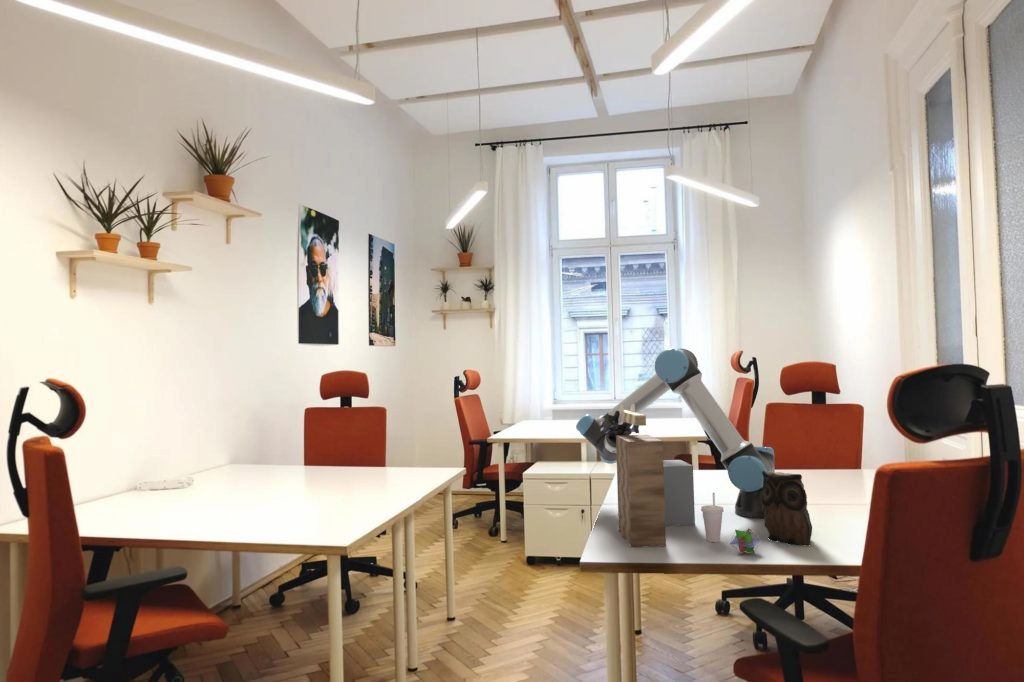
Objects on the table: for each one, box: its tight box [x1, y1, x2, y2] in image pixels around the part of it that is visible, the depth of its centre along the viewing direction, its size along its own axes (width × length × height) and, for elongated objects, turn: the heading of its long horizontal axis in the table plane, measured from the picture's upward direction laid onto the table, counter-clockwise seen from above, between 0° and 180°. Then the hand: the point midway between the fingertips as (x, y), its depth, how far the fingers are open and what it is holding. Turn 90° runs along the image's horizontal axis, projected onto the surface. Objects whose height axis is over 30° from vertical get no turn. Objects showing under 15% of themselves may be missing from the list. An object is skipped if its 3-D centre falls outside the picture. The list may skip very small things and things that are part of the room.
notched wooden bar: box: [617, 410, 647, 427], centre depth 208 cm, size 28×3×3 cm, turn 3°
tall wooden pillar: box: [616, 434, 667, 548], centre depth 199 cm, size 18×10×30 cm, turn 2°
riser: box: [663, 459, 696, 526], centre depth 220 cm, size 14×10×19 cm
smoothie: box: [700, 492, 724, 543], centre depth 194 cm, size 6×6×14 cm
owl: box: [762, 470, 813, 547], centre depth 193 cm, size 13×13×20 cm
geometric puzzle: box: [729, 527, 761, 556], centre depth 180 cm, size 7×7×8 cm
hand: (628, 408), depth 211 cm, fingers closed on notched wooden bar, 3 cm apart
